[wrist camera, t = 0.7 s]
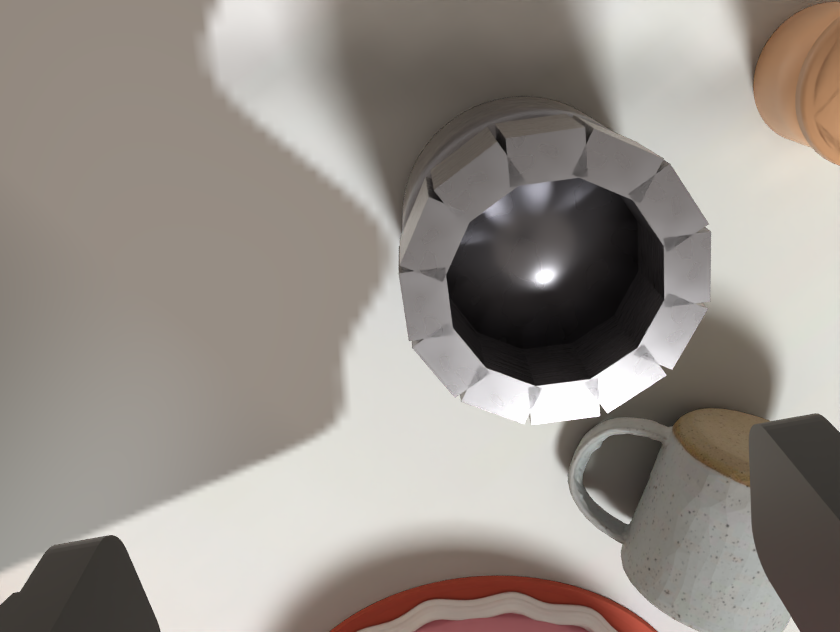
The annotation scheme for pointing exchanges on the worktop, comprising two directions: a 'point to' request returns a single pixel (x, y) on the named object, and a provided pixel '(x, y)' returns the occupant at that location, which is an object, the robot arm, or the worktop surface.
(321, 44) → the worktop surface
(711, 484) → the ceramic mug
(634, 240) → the canister
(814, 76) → the cap
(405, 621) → the cake
